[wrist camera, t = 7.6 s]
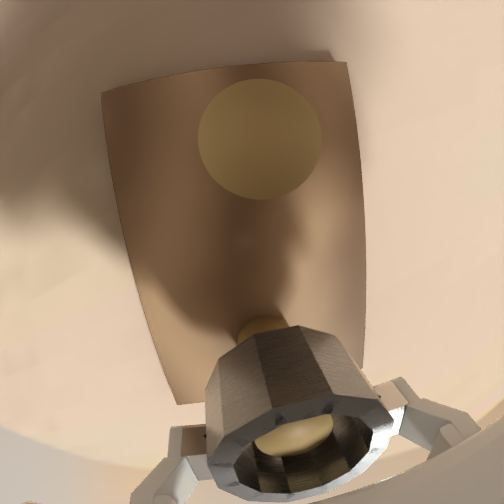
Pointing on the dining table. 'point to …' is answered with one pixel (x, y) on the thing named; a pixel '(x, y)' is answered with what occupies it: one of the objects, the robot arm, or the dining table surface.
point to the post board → (241, 215)
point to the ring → (290, 415)
